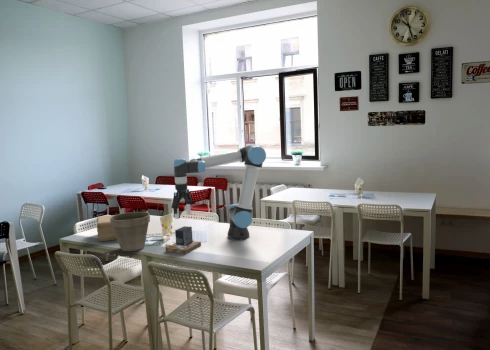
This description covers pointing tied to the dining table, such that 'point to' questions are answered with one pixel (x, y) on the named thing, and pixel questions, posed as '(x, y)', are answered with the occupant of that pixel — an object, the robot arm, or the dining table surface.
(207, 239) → the dining table surface
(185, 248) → the brown wooden slab
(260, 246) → the dining table surface
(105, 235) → the paper package
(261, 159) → the robot arm
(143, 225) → the plant pot
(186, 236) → the small box
